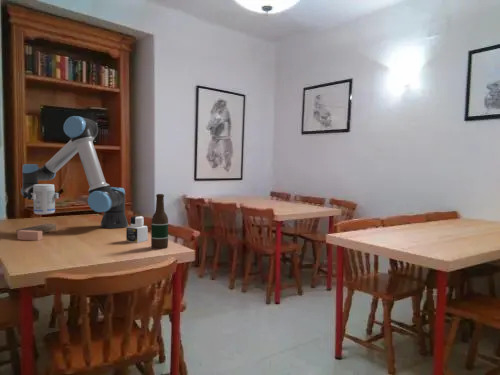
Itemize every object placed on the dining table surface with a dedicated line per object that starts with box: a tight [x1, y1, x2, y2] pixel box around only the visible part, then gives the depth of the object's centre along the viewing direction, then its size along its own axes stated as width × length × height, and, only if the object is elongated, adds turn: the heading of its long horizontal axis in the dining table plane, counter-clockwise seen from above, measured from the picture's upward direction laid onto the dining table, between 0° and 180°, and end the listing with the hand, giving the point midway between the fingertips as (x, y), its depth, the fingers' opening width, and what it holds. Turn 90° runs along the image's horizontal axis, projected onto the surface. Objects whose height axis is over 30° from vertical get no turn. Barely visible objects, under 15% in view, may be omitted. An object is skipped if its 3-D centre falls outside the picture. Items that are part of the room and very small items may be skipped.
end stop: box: [16, 230, 43, 241], centre depth 176 cm, size 11×3×4 cm, turn 80°
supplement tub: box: [32, 183, 56, 215], centre depth 186 cm, size 10×10×15 cm
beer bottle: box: [150, 193, 169, 250], centre depth 164 cm, size 8×8×24 cm
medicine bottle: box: [125, 215, 149, 244], centre depth 177 cm, size 7×7×12 cm
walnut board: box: [15, 223, 57, 237], centre depth 193 cm, size 6×21×3 cm, turn 170°
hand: (46, 196), depth 183 cm, fingers closed on supplement tub, 9 cm apart
